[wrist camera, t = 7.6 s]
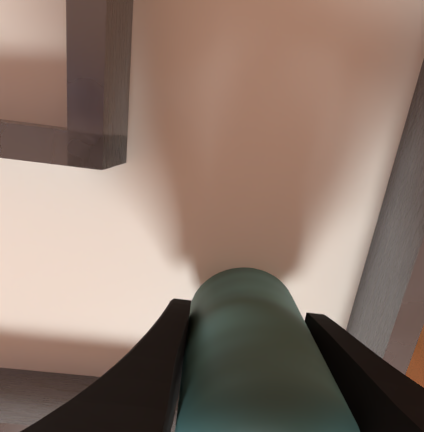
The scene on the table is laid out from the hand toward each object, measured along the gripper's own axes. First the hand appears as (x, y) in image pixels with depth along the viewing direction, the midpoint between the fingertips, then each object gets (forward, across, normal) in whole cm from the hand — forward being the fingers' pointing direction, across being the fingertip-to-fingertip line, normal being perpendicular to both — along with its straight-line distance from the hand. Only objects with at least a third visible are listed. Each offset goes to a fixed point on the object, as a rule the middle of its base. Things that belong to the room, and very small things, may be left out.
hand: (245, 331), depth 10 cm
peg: (+1, 0, 0) cm, 1 cm away
